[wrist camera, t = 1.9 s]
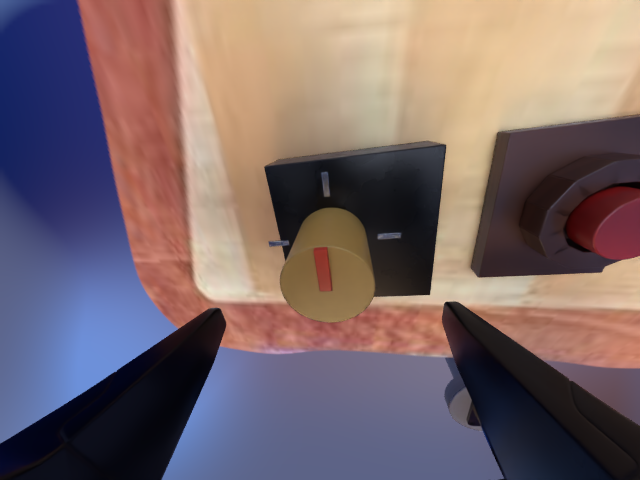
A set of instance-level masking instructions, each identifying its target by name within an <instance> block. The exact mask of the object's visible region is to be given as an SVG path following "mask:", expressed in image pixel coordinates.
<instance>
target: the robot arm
mask: <svg viewBox="0 0 640 480" xmlns="http://www.w3.org/2000/svg"><path fill="white" fill-rule="evenodd" d="M442 323H443V327H444V330H445V333H446V336H447V339H448V342H449V345H450V348H451V351H452V354H453V357H454V360H455V363H456V366H457V368H458V371H459V373H460V375H461V378H462V380H463V382H464V384H465V386H466V389H467V391H468V393H469V395H470V398H471V400H472V401H471V405H470V408H469V412H468V415H467V419H466V421H467V423H468V425H470V426H481V428H482V431H483V433H484V435H485V437H486V439H487V442H488V444H489V446H490V448H491V451H492V453H493V455H494V457H495V460H496V462H497V464H498V466H499V468H500V471H501V473H502V475H503V477H504V479H500V480H640V426H639V425H638V424H636V423H635V422H633V421H632V420H630V419H628V418H627V417H625V416H624V415H622V414H620V413H619V412H617V411H616V410H614V409H613V408H611V407H610V406H608V405H607V404H606V403H604V402H602V401H601V400H600V399H598V398H597V397H595V396H594V395H592V394H591V393H589V392H588V391H586V390H585V389H583V388H582V387H580V386H579V385H578V384H576V383H575V382H573V381H569V379H568V378H567V377H566V376H564V375H563V374H561V373H560V372H558V371H557V370H556V369H554V368H553V367H551V366H550V365H548V364H547V363H546V362H544V361H543V360H541V359H540V358H538V357H537V356H535V355H534V354H533V353H531V352H530V351H528V350H527V349H525V348H524V347H522V346H521V345H520V344H518V343H517V342H515V341H514V340H512V339H511V338H509V337H508V336H506V335H505V334H504V333H502V332H501V331H499V330H498V329H496V328H495V327H493V326H492V325H491V324H489V323H488V322H486V321H485V320H483V319H482V318H480V317H479V316H478V315H476V314H475V313H473V312H472V311H470V310H469V309H467V308H466V307H465V306H463V305H462V304H460V303H459V302H445V304H444V308H443V315H442ZM225 328H226V321H225V318H224V316H223V314H222V311H221V309H220V308H209V309H208V310H206V311H205V312H203V313H202V314H200V315H199V316H197V317H196V318H194V319H193V320H191V321H190V322H188V323H187V324H185V325H184V326H182V327H181V328H179V329H178V330H176V331H175V332H173V333H172V334H170V335H169V336H168V337H166V338H164V339H163V340H161V341H160V342H159V343H157V344H156V345H154V346H153V347H151V348H150V349H148V350H147V351H145V352H144V353H142V354H141V355H139V356H138V357H136V358H135V359H133V360H132V361H130V362H129V363H127V364H126V365H124V366H123V367H121V368H120V369H118V370H117V372H114V373H112V374H111V375H109V376H108V377H106V378H105V379H104V380H102V381H100V382H99V383H97V384H96V385H94V386H93V387H91V388H90V389H88V390H87V391H85V392H84V393H82V394H80V395H79V396H77V397H76V398H74V399H72V400H71V401H69V402H68V403H66V404H64V405H63V406H61V407H60V408H58V409H56V410H55V411H53V412H52V413H50V414H48V415H47V416H45V417H43V418H42V419H40V420H39V421H37V422H35V423H34V424H32V425H30V426H29V427H27V428H25V429H24V430H22V431H20V432H19V433H17V434H16V435H14V436H12V437H11V438H9V439H7V440H6V441H4V442H2V443H0V480H162V477H163V475H164V473H165V471H166V468H167V466H168V464H169V461H170V459H171V457H172V455H173V453H174V451H175V448H176V446H177V444H178V441H179V439H180V437H181V435H182V433H183V430H184V428H185V426H186V424H187V421H188V419H189V417H190V415H191V413H192V410H193V408H194V406H195V404H196V401H197V399H198V397H199V395H200V392H201V390H202V388H203V386H204V383H205V381H206V379H207V377H208V374H209V372H210V370H211V368H212V365H213V363H214V360H215V357H216V355H217V352H218V349H219V346H220V343H221V340H222V337H223V334H224V331H225Z"/></svg>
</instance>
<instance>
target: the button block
mask: <svg viewBox="0 0 640 480" xmlns="http://www.w3.org/2000/svg"><path fill="white" fill-rule="evenodd" d="M618 186H625V187H632V188H636V189H640V114H639V115H631V116H623V117H615V118H607V119H598V120H590V121H582V122H574V123H566V124H558V125H550V126H542V127H534V128H526V129H518V130H510V131H502V132H498V136H497V141H496V146H495V151H494V156H493V161H492V166H491V171H490V176H489V181H488V186H487V191H486V196H485V202H484V207H483V212H482V217H481V222H480V227H479V232H478V237H477V242H476V247H475V252H474V257H473V262H472V267H471V269H472V270H473V271H474V273H475V274H476V275H477V276H478V277H502V276H527V275H551V274H576V273H600V272H602V271H603V269H604V267H605V266H607V265H610V264H612V263H615V262H618V261H620V260H614V259H607V258H604V257H601V256H599V255H598V254H596V253H594V252H592V251H590V250H588V249H586V248H584V247H582V246H580V245H578V244H576V243H574V242H573V241H572V240H570V238H569V237H568V235H567V233H566V223H567V220H568V217H569V216H570V214H571V212H572V211H573V210H574V209H575V208H576V207H577V206H578V205H579V204H580V203H581V202H582V201H583V200H584V199H586V198H587V197H589V196H590V195H592V194H594V193H596V192H598V191H601V190H604V189H607V188H611V187H618ZM622 260H623V259H622Z"/></svg>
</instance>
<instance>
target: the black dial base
mask: <svg viewBox="0 0 640 480" xmlns="http://www.w3.org/2000/svg"><path fill="white" fill-rule="evenodd" d="M445 153H446V145H445V144H440V143H435V142H430V141H422V142H414V143H406V144H398V145H390V146H382V147H374V148H366V149H358V150H350V151H342V152H334V153H326V154H318V155H310V156H302V157H294V158H286V159H278V160H276V161H274V162H272V163H270V164H269V165H267V166H265V167H264V168H265V172H266V177H267V181H268V186H269V190H270V195H271V199H272V203H273V208H274V212H275V217H276V221H277V225H278V230H279V234H280V239H281V240H278V241H269V246H270V247H272V246H282V248H283V252H284V256H285V261H286V259H287V257H288V255H289V253H290V250H291V248H292V246H293V243H294V241H295V239H296V237H297V234H298V232H299V230H300V227H301V225H302V223H303V222H304V220H305V219H306V218H307V217H308V216H309V215H310V214H312V213H314V212H315V211H317V210H320V209H323V208H340V209H344V210H346V211H348V212H350V213H352V214H353V215H355V216H356V217H357V218H358V219H359V220H360V221H361V223H362V224H363V226H364V228H365V232H366V236H367V241H368V247H369V252H370V257H371V262H372V268H373V273H374V278H375V293H374V296H373V297H380V296H412V295H430V290H431V281H432V272H433V263H434V254H435V245H436V235H437V226H438V217H439V208H440V199H441V190H442V181H443V171H444V162H445Z"/></svg>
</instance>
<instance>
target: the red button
mask: <svg viewBox="0 0 640 480" xmlns="http://www.w3.org/2000/svg"><path fill="white" fill-rule="evenodd" d="M566 233H567V235H568V237H569V238H570V240H572V241H573V242H574V243H576V244H578V245H580V246H582V247H584V248H586V249H588V250H590V251H592V252H594V253H596V254H598V255H599V256H601V257H604V258H607V259H614V260H622V259H630V258H634V257H638V256H640V189H636V188H632V187H625V186H618V187H611V188H607V189H604V190H601V191H598V192H596V193H594V194H592V195H590V196H589V197H587V198H586V199H584V200H583V201H582V202H581V203H580V204H579V205H578V206H577V207H576V208H575V209H574V210H573V211H572V212H571V214H570V216H569V217H568V220H567V223H566Z"/></svg>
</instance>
